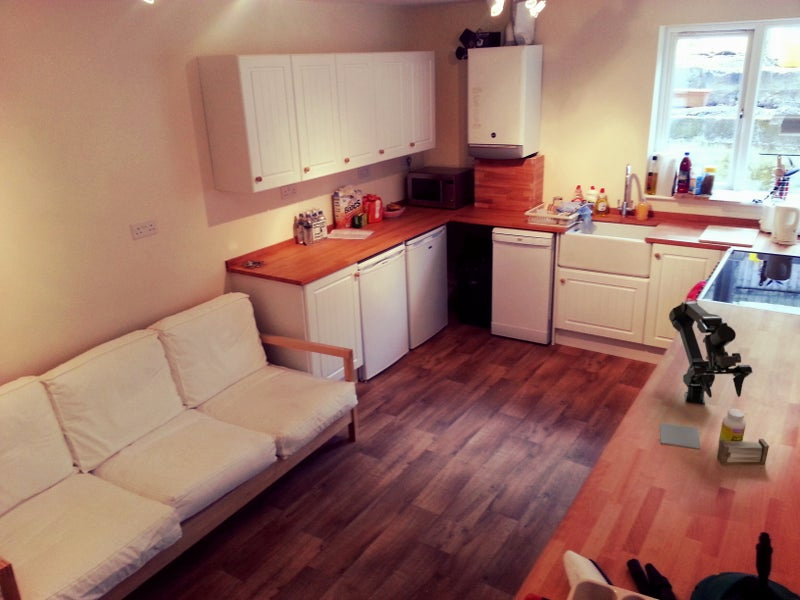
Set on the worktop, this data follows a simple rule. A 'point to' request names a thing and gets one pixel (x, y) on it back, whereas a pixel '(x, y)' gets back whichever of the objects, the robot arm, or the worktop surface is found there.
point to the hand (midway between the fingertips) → (724, 396)
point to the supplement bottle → (733, 426)
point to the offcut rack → (742, 452)
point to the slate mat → (679, 435)
